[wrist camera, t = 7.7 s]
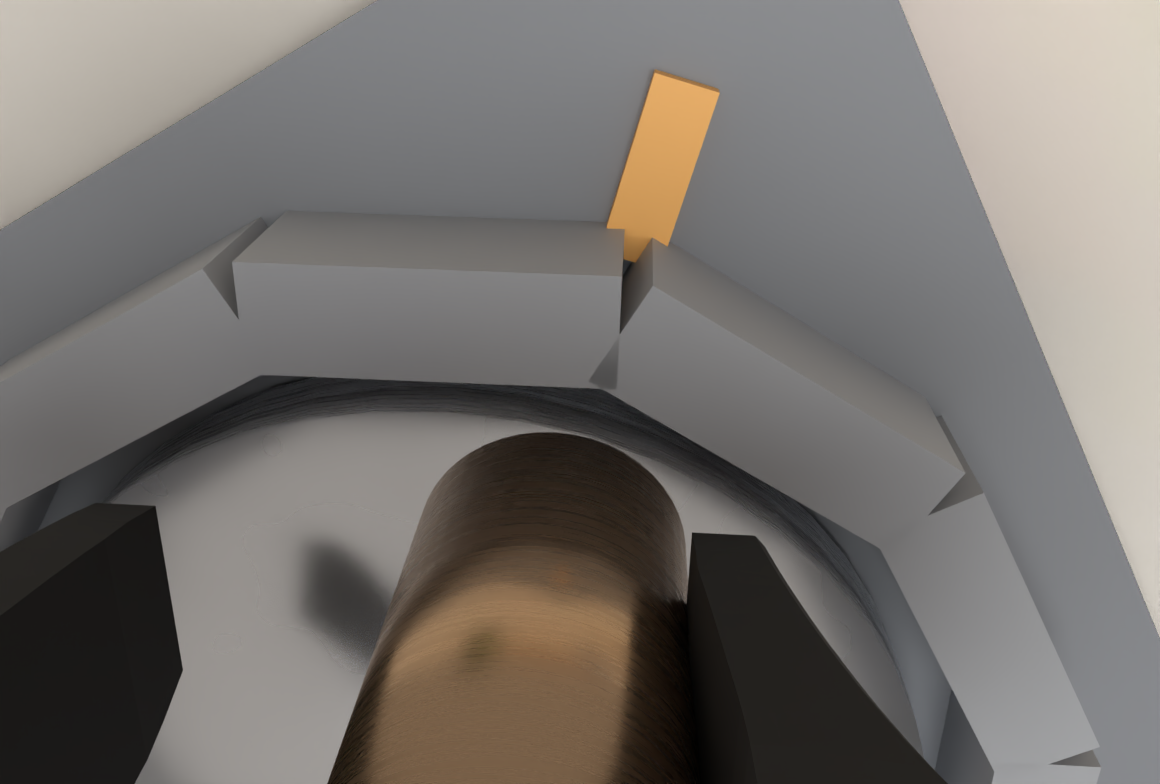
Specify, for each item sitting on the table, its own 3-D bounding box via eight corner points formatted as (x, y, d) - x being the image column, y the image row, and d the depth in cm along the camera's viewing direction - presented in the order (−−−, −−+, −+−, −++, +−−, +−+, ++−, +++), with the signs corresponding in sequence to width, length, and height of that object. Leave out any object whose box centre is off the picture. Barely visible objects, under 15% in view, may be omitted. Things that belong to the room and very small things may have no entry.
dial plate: (333, 1147, 22) (284, 1343, 19) (-360, 452, 16) (-590, 584, 13) (1241, 876, 18) (1361, 1077, 15) (777, -240, 11) (822, -278, 9)
